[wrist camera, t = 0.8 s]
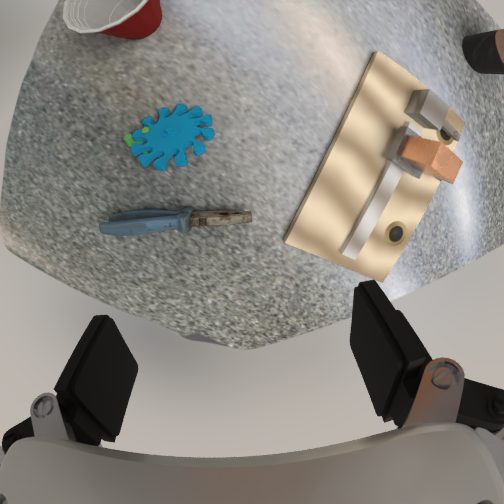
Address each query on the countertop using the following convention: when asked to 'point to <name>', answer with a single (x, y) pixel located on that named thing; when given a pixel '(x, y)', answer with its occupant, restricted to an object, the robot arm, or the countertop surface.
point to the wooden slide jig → (373, 174)
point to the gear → (170, 137)
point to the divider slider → (423, 156)
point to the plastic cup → (113, 17)
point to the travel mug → (485, 52)
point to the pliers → (169, 220)
